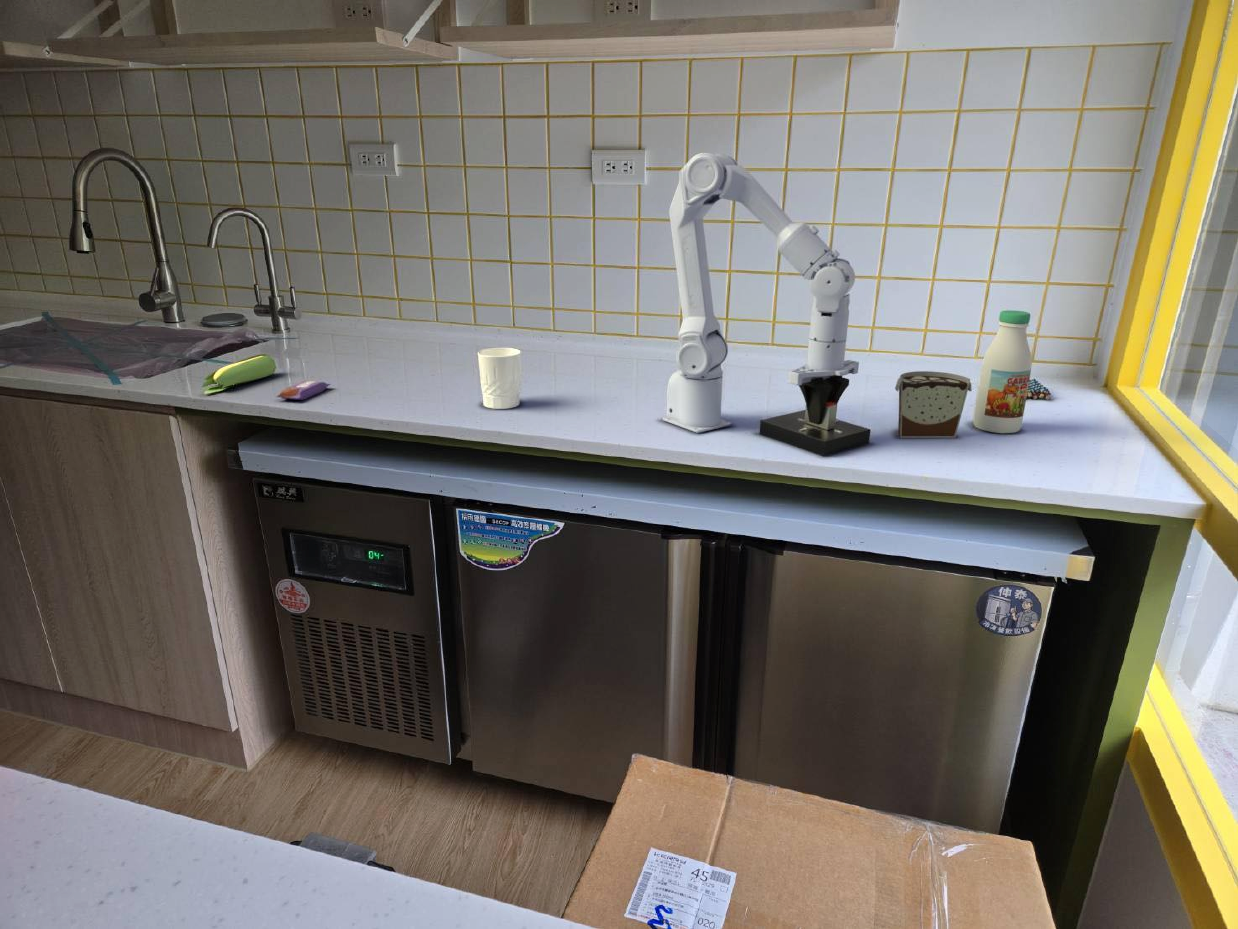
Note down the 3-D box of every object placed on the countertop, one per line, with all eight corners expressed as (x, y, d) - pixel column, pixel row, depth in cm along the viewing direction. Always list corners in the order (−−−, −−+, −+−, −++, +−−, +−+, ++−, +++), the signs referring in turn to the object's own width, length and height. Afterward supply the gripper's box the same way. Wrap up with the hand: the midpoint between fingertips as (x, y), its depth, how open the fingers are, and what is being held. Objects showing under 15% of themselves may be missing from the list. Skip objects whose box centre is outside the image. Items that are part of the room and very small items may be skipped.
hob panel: (759, 434, 137) (760, 419, 137) (803, 423, 144) (805, 408, 143) (824, 456, 127) (825, 440, 126) (869, 443, 133) (871, 428, 132)
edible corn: (284, 374, 175) (281, 353, 174) (215, 397, 157) (211, 373, 156) (264, 372, 177) (261, 351, 175) (193, 395, 159) (189, 371, 157)
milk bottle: (964, 427, 142) (982, 311, 135) (983, 418, 147) (1001, 306, 140) (1009, 437, 137) (1030, 317, 130) (1027, 427, 142) (1048, 312, 135)
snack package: (308, 377, 164) (331, 379, 163) (309, 386, 165) (332, 388, 164) (274, 391, 154) (297, 393, 153) (275, 401, 154) (299, 403, 153)
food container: (949, 426, 142) (957, 370, 139) (964, 437, 136) (973, 379, 133) (879, 427, 142) (885, 370, 139) (891, 437, 136) (898, 379, 133)
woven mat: (1052, 400, 159) (1054, 390, 158) (994, 397, 161) (996, 387, 160) (1035, 387, 169) (1037, 377, 168) (981, 385, 170) (982, 375, 170)
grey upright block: (804, 422, 135) (806, 398, 134) (811, 421, 136) (813, 396, 135) (827, 430, 131) (830, 404, 130) (835, 428, 132) (837, 403, 131)
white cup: (531, 402, 155) (529, 350, 152) (505, 412, 149) (503, 358, 145) (498, 397, 159) (495, 346, 155) (471, 406, 152) (468, 353, 149)
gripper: (816, 348, 122) (808, 435, 126) (877, 338, 130) (868, 420, 134) (781, 340, 127) (774, 424, 132) (842, 331, 135) (834, 410, 140)
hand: (819, 421), depth 133 cm, fingers closed on grey upright block, 2 cm apart
